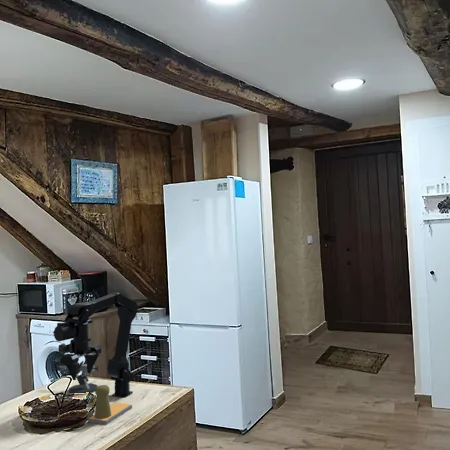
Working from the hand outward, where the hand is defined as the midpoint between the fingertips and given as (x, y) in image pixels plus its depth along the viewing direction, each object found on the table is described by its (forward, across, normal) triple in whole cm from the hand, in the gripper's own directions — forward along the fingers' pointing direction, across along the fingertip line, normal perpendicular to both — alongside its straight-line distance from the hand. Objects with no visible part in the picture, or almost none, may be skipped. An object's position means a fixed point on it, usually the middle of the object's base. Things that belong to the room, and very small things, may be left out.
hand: (81, 376), depth 199 cm
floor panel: (+13, +1, +14) cm, 19 cm away
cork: (+12, +6, +14) cm, 19 cm away
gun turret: (+13, -20, -18) cm, 30 cm away
